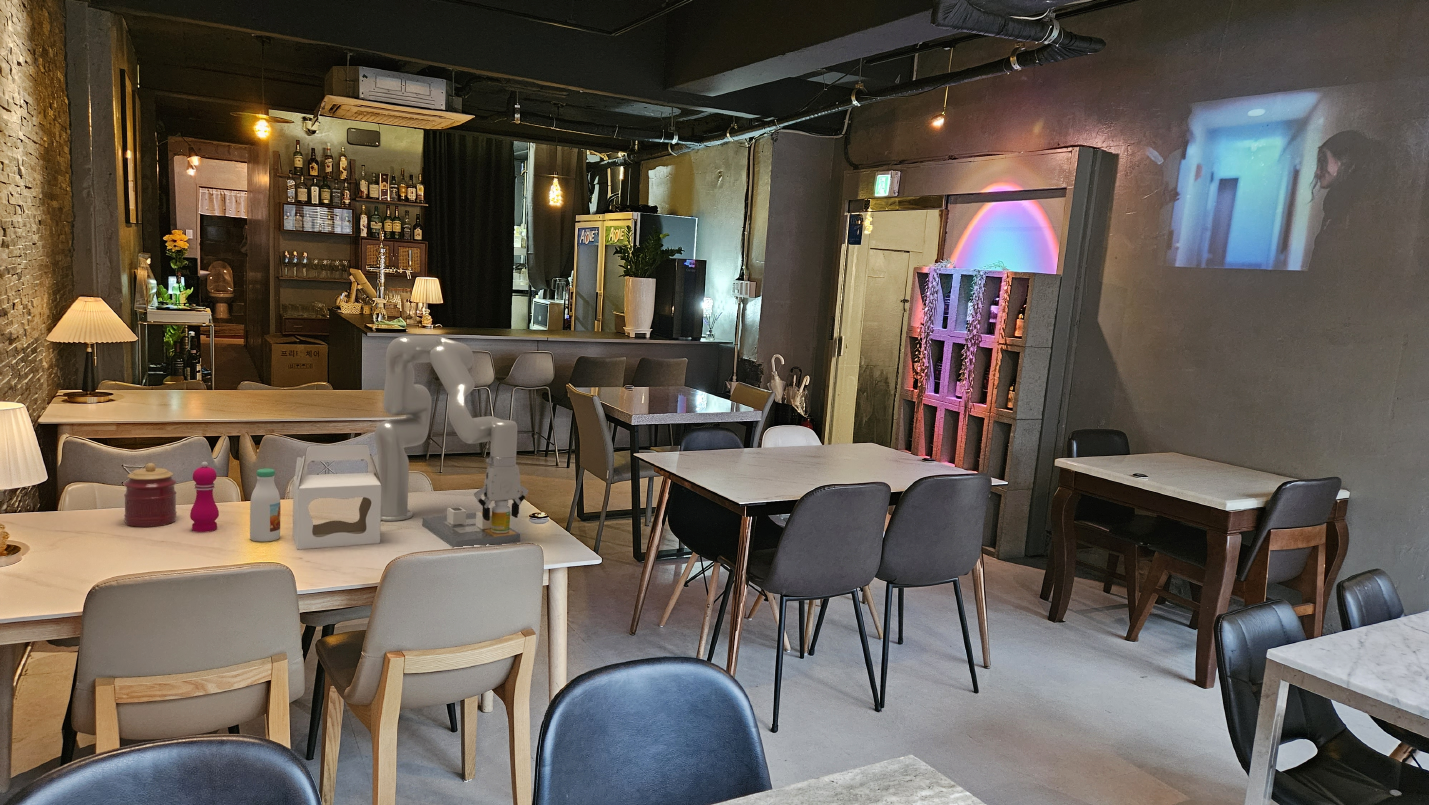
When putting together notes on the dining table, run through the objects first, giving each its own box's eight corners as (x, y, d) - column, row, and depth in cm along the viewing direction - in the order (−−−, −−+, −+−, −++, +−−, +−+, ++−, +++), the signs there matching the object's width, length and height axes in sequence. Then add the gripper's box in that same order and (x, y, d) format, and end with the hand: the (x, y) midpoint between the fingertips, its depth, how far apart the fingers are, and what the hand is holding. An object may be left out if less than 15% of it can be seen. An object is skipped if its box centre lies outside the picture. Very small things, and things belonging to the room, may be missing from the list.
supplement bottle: (508, 534, 263) (509, 502, 262) (489, 533, 263) (490, 501, 261) (510, 529, 268) (512, 498, 267) (492, 528, 268) (494, 497, 267)
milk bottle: (259, 544, 246) (260, 473, 244) (244, 538, 250) (244, 469, 248) (285, 538, 253) (286, 470, 250) (270, 533, 257) (270, 466, 254)
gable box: (373, 531, 266) (375, 440, 263) (381, 543, 255) (383, 448, 251) (291, 537, 254) (293, 441, 251) (296, 550, 243) (297, 450, 240)
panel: (455, 549, 254) (455, 540, 253) (422, 525, 276) (422, 516, 275) (520, 541, 266) (520, 532, 266) (483, 519, 288) (483, 511, 287)
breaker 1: (452, 524, 269) (453, 511, 268) (446, 520, 272) (447, 507, 272) (465, 523, 271) (466, 510, 270) (459, 519, 275) (459, 506, 274)
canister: (182, 523, 260) (182, 465, 258) (131, 530, 250) (131, 469, 248) (168, 514, 269) (168, 457, 267) (118, 520, 259) (118, 461, 257)
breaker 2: (482, 529, 266) (482, 515, 265) (475, 525, 270) (476, 511, 269) (494, 527, 268) (495, 514, 268) (488, 523, 272) (488, 510, 272)
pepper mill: (224, 528, 258) (224, 461, 256) (203, 534, 251) (203, 465, 249) (205, 524, 260) (206, 458, 258) (184, 530, 254) (184, 462, 251)
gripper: (480, 465, 254) (477, 524, 257) (535, 462, 265) (532, 518, 267) (470, 460, 260) (467, 518, 262) (524, 457, 271) (521, 512, 273)
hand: (500, 518), depth 265 cm, fingers open, 8 cm apart
